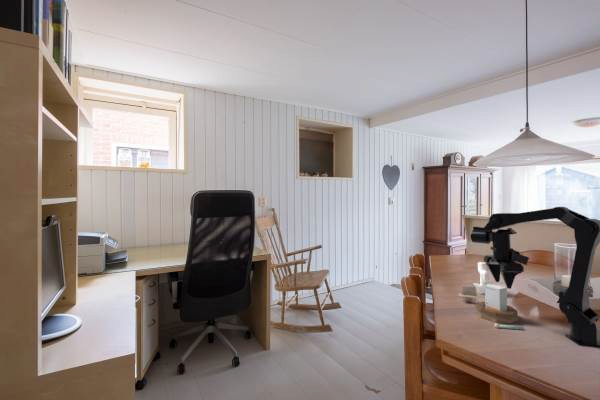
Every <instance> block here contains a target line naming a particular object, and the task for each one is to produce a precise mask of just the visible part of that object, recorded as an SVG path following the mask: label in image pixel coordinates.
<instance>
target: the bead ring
mask: <svg viewBox="0 0 600 400" xmlns="http://www.w3.org/2000/svg"><path fill="white" fill-rule="evenodd" d="M475 314H476V315H478V316H479V317H480V318H481V319H483V320H487V321H490V322H493V323H496V324H513V323H515V322H517V321H518V320H519V319H518V318H519V316H518V310H516V309H515V308H514V307H513V306H511V305H508V304H507V312H500V311H493V310H490V309H486V308H485V301H480V302H477V303H475Z"/></svg>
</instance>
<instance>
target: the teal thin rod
mask: <svg viewBox="0 0 600 400" xmlns="http://www.w3.org/2000/svg"><path fill="white" fill-rule="evenodd" d="M494 328H496V329H498V328H499V329H509V330H510V329H512V330H525V329H524V326H520V325H519V326H518V325H508V324H507V325H505V324H499V323H494Z"/></svg>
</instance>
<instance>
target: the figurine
mask: <svg viewBox="0 0 600 400" xmlns="http://www.w3.org/2000/svg"><path fill="white" fill-rule="evenodd" d="M487 269H488V266H487V265H486V262H484V261H483V262H482V261H479V262H477V271H478V273H479V279H480V280H479V282H480V283H479V282H473V286H475V287H476V292H477V293H478V294H479V295H485V285H488V284H489V282H490V275H489V272H488V271H487Z"/></svg>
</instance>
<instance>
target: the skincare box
mask: <svg viewBox="0 0 600 400" xmlns="http://www.w3.org/2000/svg"><path fill="white" fill-rule="evenodd" d="M487 284H488V285H485V294H484V302H485V308H486V309H490V310H493V311H500V312H507V305H508V297H507V295H508V291H507V290H508V288H507V287H504V286H501V285H498V284H493V283H487Z"/></svg>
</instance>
